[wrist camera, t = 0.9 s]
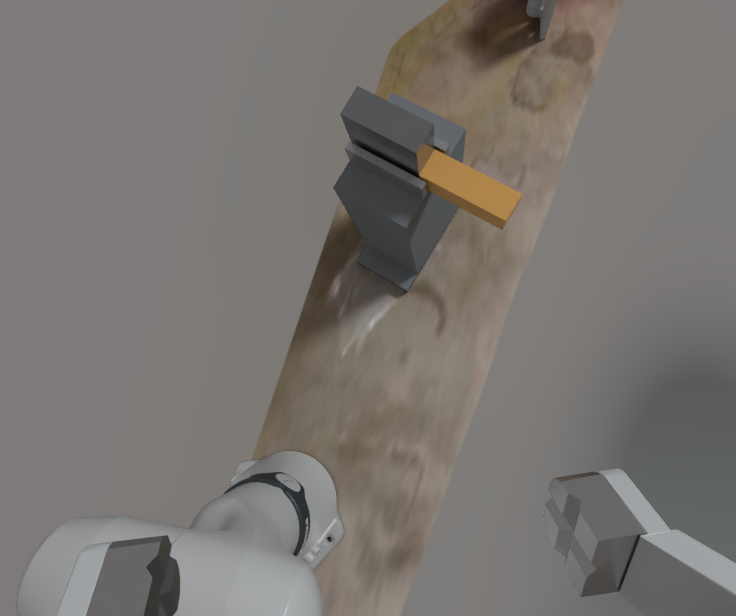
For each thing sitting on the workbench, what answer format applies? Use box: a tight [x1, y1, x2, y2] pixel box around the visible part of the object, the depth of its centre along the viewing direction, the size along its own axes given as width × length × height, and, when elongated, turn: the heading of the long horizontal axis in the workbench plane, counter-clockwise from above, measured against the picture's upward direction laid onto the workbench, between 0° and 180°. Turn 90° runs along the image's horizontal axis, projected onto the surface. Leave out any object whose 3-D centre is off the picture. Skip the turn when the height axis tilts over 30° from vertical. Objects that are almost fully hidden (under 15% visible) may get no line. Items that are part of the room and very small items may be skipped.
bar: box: [341, 87, 522, 230], centre depth 48 cm, size 3×18×8 cm, turn 58°
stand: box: [334, 93, 466, 292], centre depth 64 cm, size 18×9×29 cm, turn 148°
